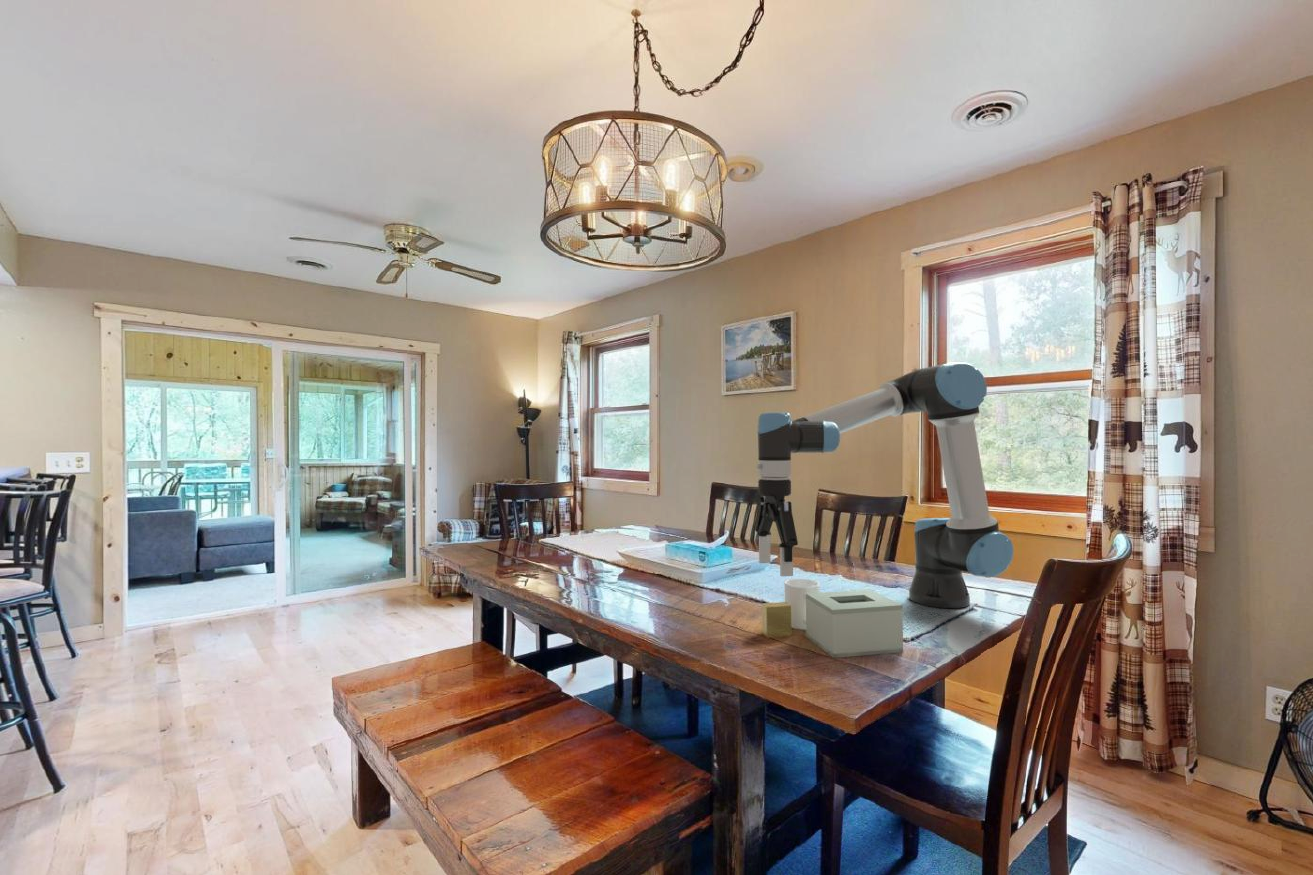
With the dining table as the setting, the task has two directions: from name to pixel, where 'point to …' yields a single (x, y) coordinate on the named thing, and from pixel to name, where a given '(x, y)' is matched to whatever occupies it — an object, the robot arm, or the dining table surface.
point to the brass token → (776, 619)
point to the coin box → (854, 623)
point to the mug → (799, 599)
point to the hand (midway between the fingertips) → (775, 569)
